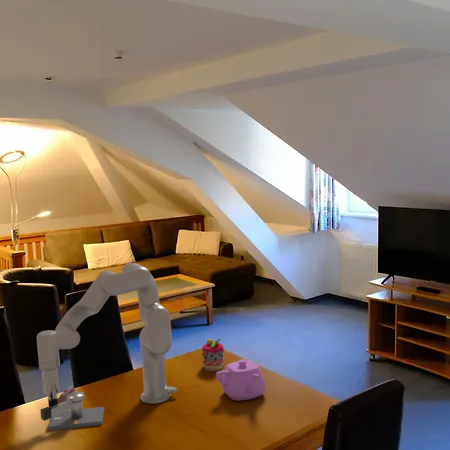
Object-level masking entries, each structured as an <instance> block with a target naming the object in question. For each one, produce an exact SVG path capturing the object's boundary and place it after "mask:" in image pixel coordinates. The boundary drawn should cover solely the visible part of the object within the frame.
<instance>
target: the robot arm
mask: <svg viewBox="0 0 450 450" xmlns="http://www.w3.org/2000/svg"><path fill="white" fill-rule="evenodd" d="M121 270H122V272H117V273H115V272H114V271H111V270H103V271H101V272H100V273H99V274H98V275H97V276H96V278H95V279H94V281H93V282H92V283H91V285H90V286H89V288H88V289H87V290H86V292H85V293H84V295H83V296H82V297H81V299H80V300H79V301H78V302H76V303H75V304H74V305H73V306H71V308H70V309H69V310H68V311H67V312H65V314H64V316H63V317H62V318H61V320H60V321H59V323H57V325H56V327H55V330H52V329H51V330H50V329H49V330H42V331H40V332H39V333H37V336H36V346H37V355H38V367H39V370H40V371H41V379H42V381H41V382H42V390H43V392H44V395H45V396H46V397H47V401H48V403H47V404H48V407H51V406H54V405H57V404H58V401H57V399H58V394H59V393H60V380H59V372H58V371H59V370H58V368H59V367H60V366H61V361H60V351H59V350H70V349H73V348H75V347H77V346H78V345H79V344H80V341H81V336H80V334H79V332H78V331H77V329H78V327H79V326H80V325H81V323H82V322H83V321H84V320H85V319H87V318H88V317H91V316H93V315H95V314H98V313H99V312H100V310H101V309H102V308H103V306H104V305H105V303H106V302H107V300H108V299H109V298H110V296H120V295H125V294H127V293H131V292H134V291H136V292H137V298H138V311H139V318H140V320H141V321H142V322H143V323H145V325H146V326H144V327H142V329H141V331H140V334H139V338H138V339H139V346H140V351H141V359H142V364H141V365H142V378H143V379H142V380H143V392H142V393H141V394H140V400H141V402H143V403H145V404H152V405H154V404H160V403H163V402H166V401H168V400H169V399H170V398H171V394H172V393H175V394H176V393H178V388H177V387H174V386H169V385H167V378H166V377H167V376H166V358H165V357H166V356H165V354H167V353H168V352H169V351H170V350H171V347H172V343H173V333H172V325H171V322H172V321H171V316H170V313H169V311H168V309H167V308H165V307H164V306H163V305H162V304H161V303H160V297H159V290H158V286H157V283H156V279H155V278H154V277H153V275H152V274H151V272H150V270H149V269H148V268H147V267H144V266H142V265H141V264H138V263H136V262H135V263H134V262H129V263H127V264H125V265H124V266H123V268H122V269H121Z"/></svg>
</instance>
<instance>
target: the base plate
mask: <svg viewBox="0 0 450 450" xmlns="http://www.w3.org/2000/svg"><path fill="white" fill-rule="evenodd" d="M82 409H83V416H82V417H80V418H76V419H74V418H72V417H71V409H70V410H68V411H65V412H62V413H60V414H57V415H55V416H52V418H50V420H49V424H48V426H47V429H48V431H56V430H65V429H67V430H68V429H75V428H85V427H95V426H103V421H104V414H105V406H99V407H89V408H82Z"/></svg>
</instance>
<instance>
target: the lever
mask: <svg viewBox="0 0 450 450" xmlns="http://www.w3.org/2000/svg"><path fill="white" fill-rule="evenodd" d="M84 400H85V393H84V392H83V391H74V392H72V393H70V394H68V396H67V401H65V402H62V403H59V404H57V405H54V406H51V407H49V406H47V407H44V408H41V409H39V411H40V419H41V420H42V421H44V422H45V421H47V420H51V418H52V416H55V415H57V414H60V413H62V412H65V411H69V410H71V417H72V418H74V419H76V418H80V417H82V416H83V409H84V408H83V401H84Z"/></svg>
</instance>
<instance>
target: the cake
mask: <svg viewBox="0 0 450 450" xmlns="http://www.w3.org/2000/svg"><path fill="white" fill-rule="evenodd" d="M220 341H221V337H219V338H218V339H216V340H215V341H214V340H213V339H212V338H208V339H207V340H206V343H205V344H203V345H202V358H203V361H201V362H202V363H203V369H204V371H208V372H216V371H217V372H219V371H222V370H223V368H224V362H225V358H224V353H225V352H224V345H223V344H222V343H220Z"/></svg>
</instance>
